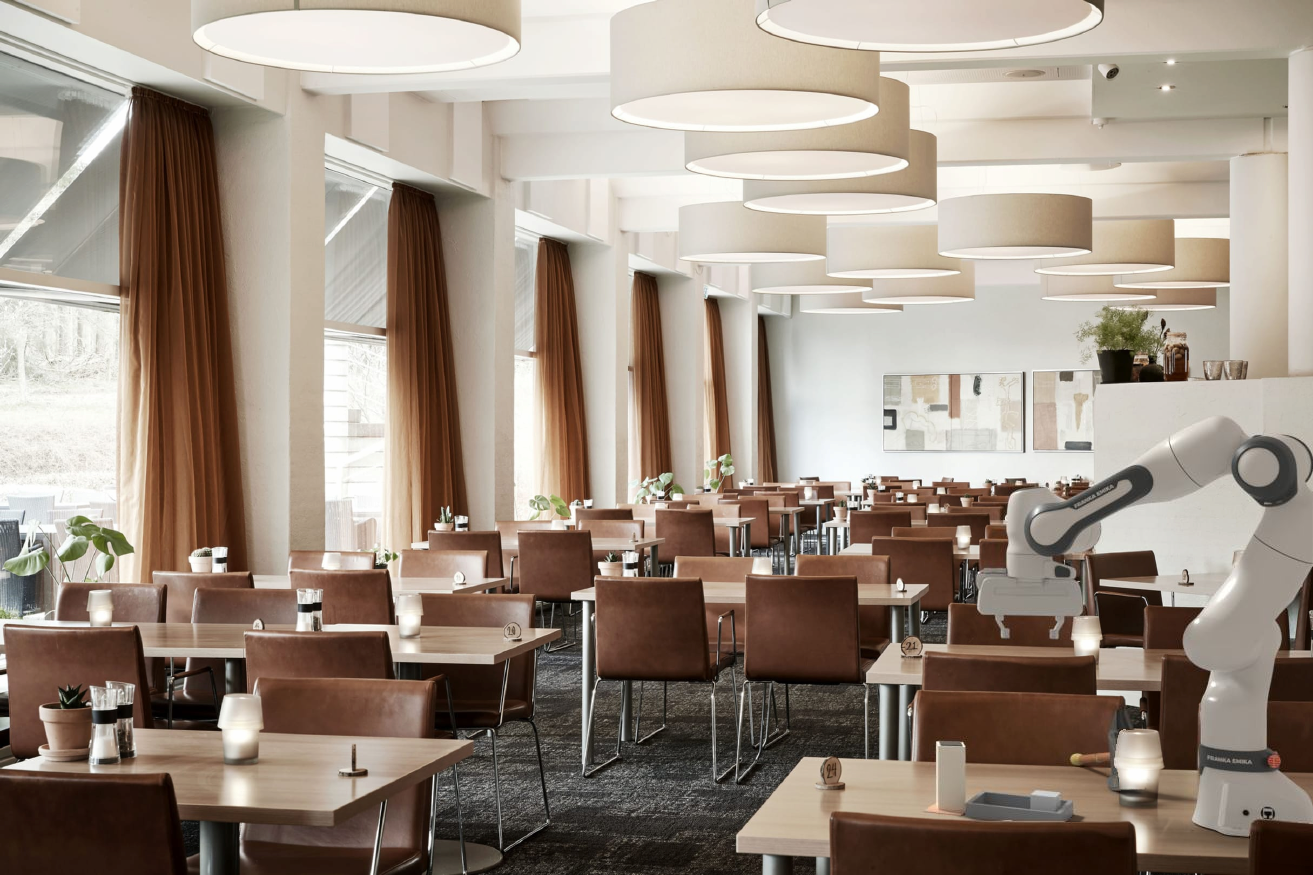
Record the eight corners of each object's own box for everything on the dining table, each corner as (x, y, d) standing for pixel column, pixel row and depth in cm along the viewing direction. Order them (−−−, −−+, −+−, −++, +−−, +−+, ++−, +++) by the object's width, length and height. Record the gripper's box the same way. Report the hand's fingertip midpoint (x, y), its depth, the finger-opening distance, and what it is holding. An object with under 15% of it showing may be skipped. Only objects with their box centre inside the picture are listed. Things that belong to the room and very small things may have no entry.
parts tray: (1073, 816, 259) (1073, 800, 259) (1060, 830, 249) (1060, 813, 249) (981, 806, 267) (981, 790, 267) (965, 819, 256) (965, 803, 256)
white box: (962, 804, 266) (962, 741, 266) (965, 810, 261) (965, 745, 261) (936, 803, 267) (936, 740, 267) (938, 809, 262) (938, 745, 262)
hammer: (1085, 717, 312) (1139, 708, 283) (1091, 791, 307) (1147, 789, 279) (1059, 718, 311) (1111, 708, 282) (1065, 791, 307) (1118, 790, 278)
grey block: (1060, 817, 257) (1060, 792, 257) (1055, 822, 253) (1055, 797, 253) (1035, 814, 259) (1035, 790, 259) (1030, 819, 255) (1030, 794, 255)
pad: (976, 806, 267) (976, 803, 267) (960, 818, 257) (960, 815, 257) (940, 802, 270) (940, 799, 270) (923, 814, 260) (923, 810, 260)
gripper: (977, 568, 277) (977, 638, 276) (1084, 570, 274) (1084, 641, 273) (974, 566, 283) (974, 635, 282) (1078, 568, 280) (1079, 637, 280)
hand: (1029, 638), depth 278 cm, fingers open, 8 cm apart
